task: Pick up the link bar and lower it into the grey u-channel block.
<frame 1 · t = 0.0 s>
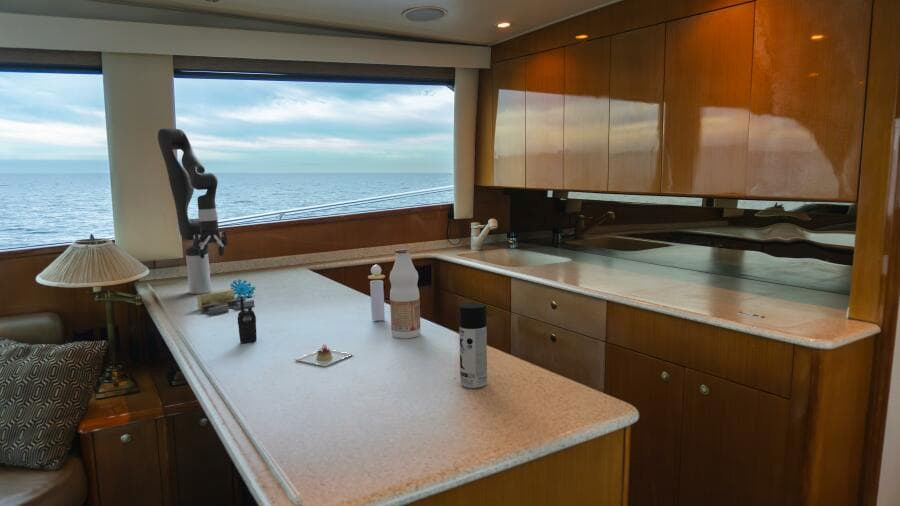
hand: (211, 256, 260), 17 cm above the worktop, tool pointing down, fingers open, 8 cm apart
perfume bottle: (378, 321, 212), on the worktop
grey u-channel block: (228, 309, 235), on the worktop
link bar: (217, 306, 241), on the worktop
gear: (244, 297, 258), on the worktop
two-way radio: (248, 341, 191), on the worktop
spray can: (474, 385, 148), on the worktop
fruit juice: (406, 335, 193), on the worktop
dessert: (324, 361, 171), on the worktop
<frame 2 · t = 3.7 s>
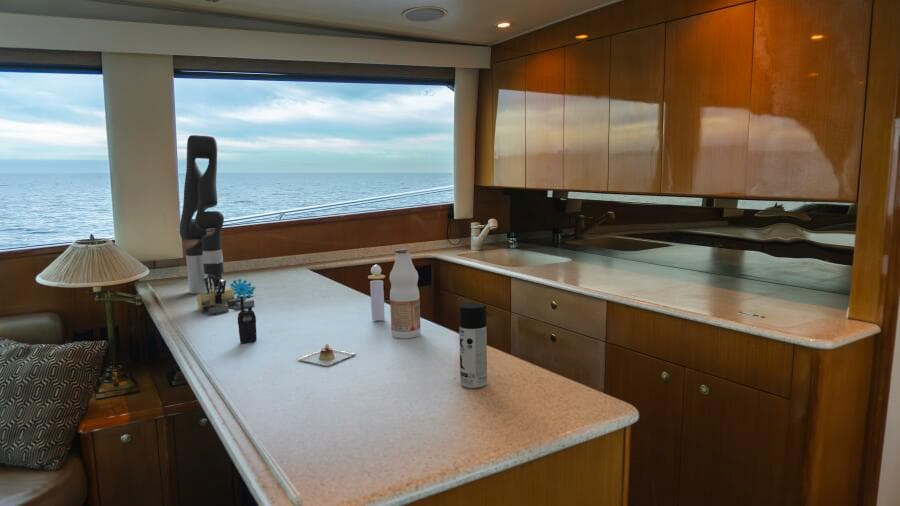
hand: (216, 303, 241), 1 cm above the worktop, tool pointing down, fingers closed on link bar, 3 cm apart
link bar: (216, 306, 241), on the worktop, touching gripper
when the fingers open (3 cm above the worktop, at t = 7.6 s): link bar drops 1 cm, resting on grey u-channel block.
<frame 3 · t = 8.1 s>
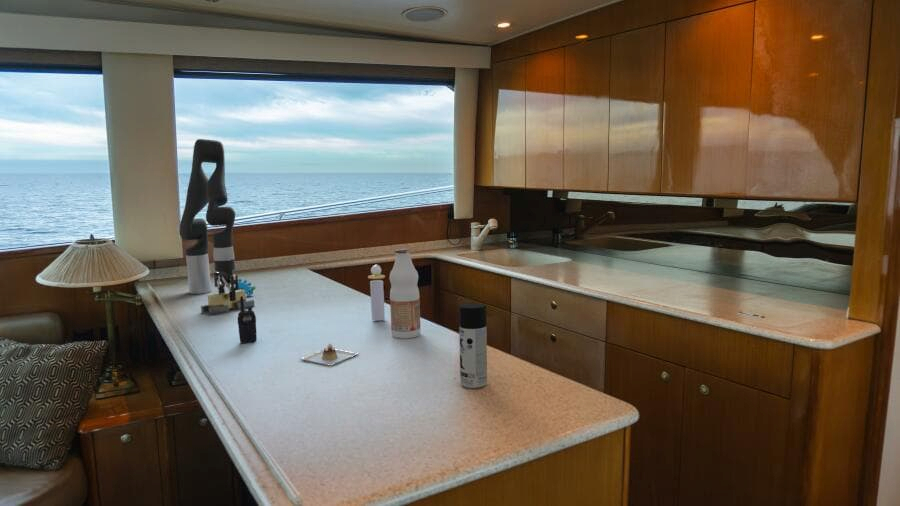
hand: (227, 299, 235), 4 cm above the worktop, tool pointing down, fingers open, 8 cm apart
link bar: (228, 307, 235), point 1 cm above the worktop, touching grey u-channel block
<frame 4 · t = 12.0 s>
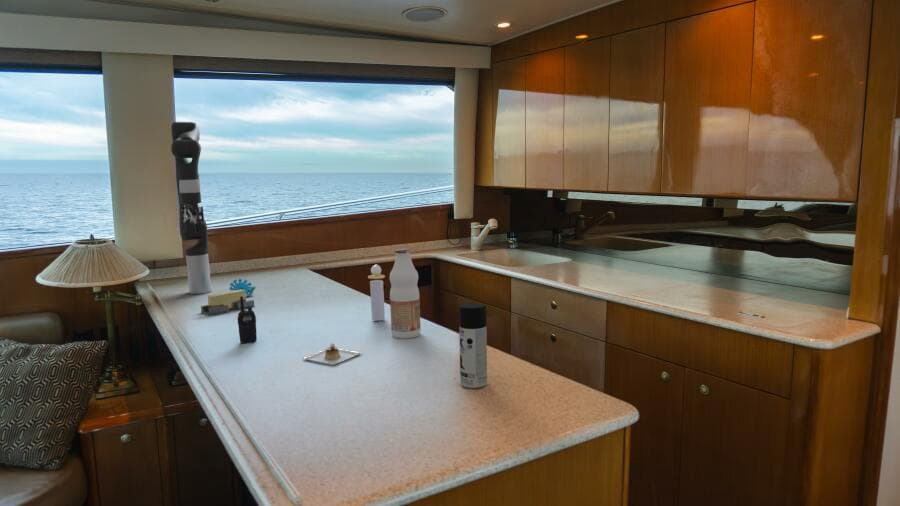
hand: (193, 232, 238), 30 cm above the worktop, tool pointing down, fingers open, 8 cm apart
at the end: link bar 0.1 cm off-centre on the grey u-channel block, point 0.6 cm above the grey u-channel block's base; link bar tilted 0°; the gripper is holding nothing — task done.
